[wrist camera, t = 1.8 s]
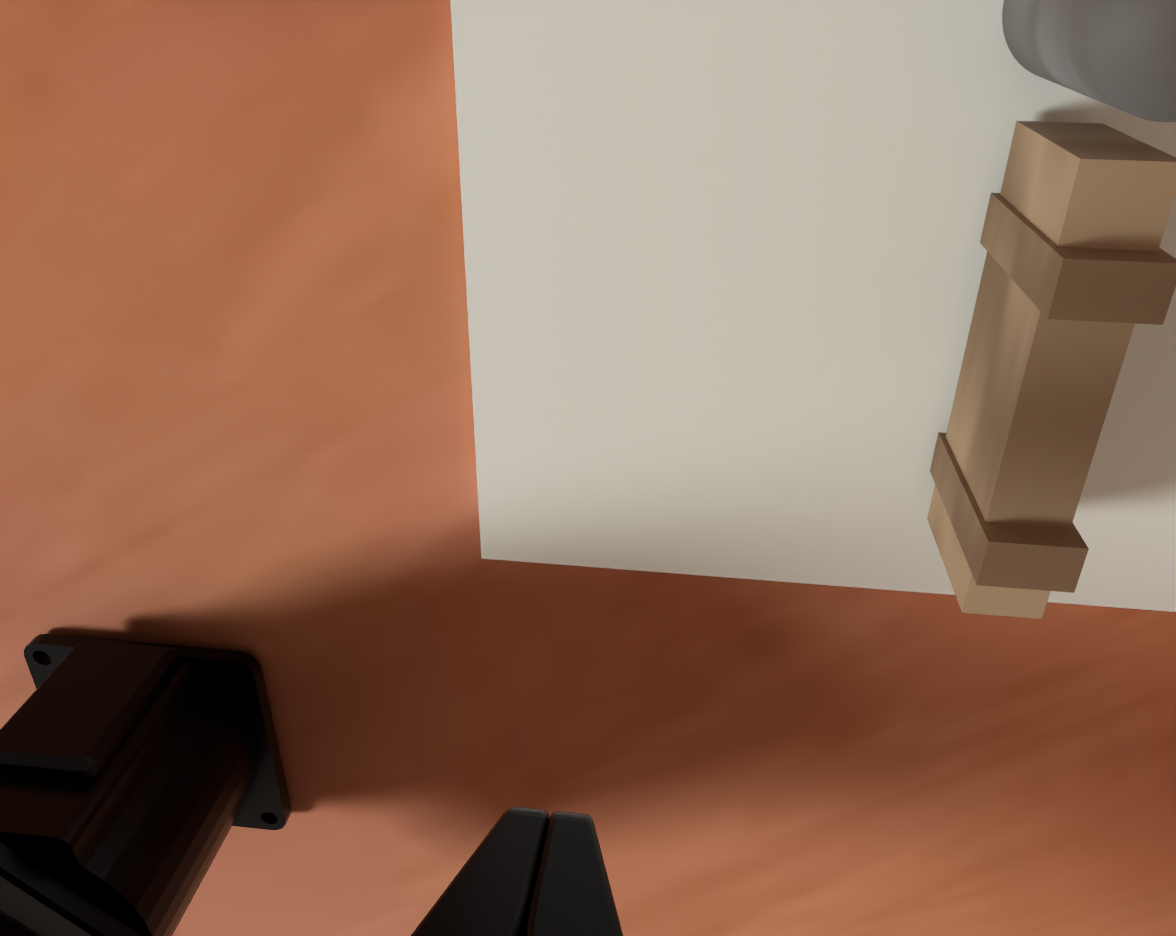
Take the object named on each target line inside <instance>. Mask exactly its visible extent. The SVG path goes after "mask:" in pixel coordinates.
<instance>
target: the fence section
mask: <svg viewBox="0 0 1176 936" xmlns="http://www.w3.org/2000/svg"><path fill="white" fill-rule="evenodd" d="M1002 25H1003V33H1004V37H1005V40H1006V43H1007V45H1008V48H1009V50H1010V52H1011V53H1012V55H1013V57H1014V58H1015V59H1016V60H1017V61H1018V63H1019V64H1020V65H1021V66H1023V67H1024V68H1025V69H1026V70H1028V71H1029V72H1031V73H1033V74H1034V75H1037V76H1039V77H1042V78H1044V79H1046V80H1049V81H1051V82H1054V83H1056V84H1059V85H1061V86H1063V87H1066V88H1068V89H1071V90H1073V91H1075V92H1078V93H1080V94H1083V95H1085V96H1087V97H1090V98H1092V99H1095V100H1097V101H1100V102H1102V103H1104V104H1107V105H1109V106H1112V107H1114V108H1116V109H1119V110H1121V111H1124V112H1126V113H1129V114H1131V115H1133V116H1136V117H1138V118H1141V119H1145V120H1149V121H1155V122H1176V0H1004V3H1003V10H1002Z"/></svg>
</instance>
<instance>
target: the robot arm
mask: <svg viewBox="0 0 1176 936" xmlns="http://www.w3.org/2000/svg"><path fill="white" fill-rule="evenodd" d="M24 656H25V659H26V662H27V664H28V667H29V670H30V672H31V675H32V678H33V681H34V683H35V686H36V689H37V690H36V691H35V692H34V693H33V694H32V695H31V696H30V697H29V698H28V700H27V701H26V702H25V703H24V704H23V705H22V706H21V707H20V708H19V709H18V711H17V712H16V713H15V714H14V715H13V716H12V717H11V718H10V719H9V721H8V722H7V723H6V724H5V725H4V726H3V727H2V728H1V729H0V936H172V935H173V933H174V931H175V929H176V927H177V925H178V924H179V922H180V920H181V918H182V916H183V914H184V913H185V911H186V909H187V907H188V905H189V903H190V902H191V900H192V898H193V896H194V894H195V892H196V891H197V889H198V887H199V885H200V883H201V881H202V880H203V878H204V876H205V874H206V872H207V870H208V869H209V867H210V865H211V863H212V861H213V859H214V858H215V856H216V854H217V852H218V850H219V848H220V847H221V845H222V843H223V841H224V839H225V837H226V836H227V834H228V832H229V830H230V828H231V826H240V827H249V828H259V829H268V830H279V829H281V828H283V827H284V826H285V824H286V822H287V820H288V818H289V816H290V814H291V807H290V802H289V797H288V792H287V788H286V783H285V778H284V773H283V769H282V764H281V759H280V755H279V750H278V745H277V740H276V736H275V731H274V726H273V721H272V717H271V712H270V707H269V702H268V698H267V693H266V688H265V684H264V679H263V674H262V669H261V666H260V664H259V662H258V661H257V660H256V659H255V657H253V656H252V655H250V654H248V653H245V652H241V651H232V650H221V649H210V648H198V647H187V646H176V645H165V644H153V643H142V642H131V641H120V640H108V639H97V638H86V637H75V636H63V635H52V634H40V635H38V636H36V637H35V638H34V639H33V640H32V641H31V642H30V643H29V644H28V645H27V646H26V647H25V650H24ZM237 669H239V670H241V671H242V672H240V671H239V670H237ZM243 672H244V673H243ZM411 936H623V934H622V930H621V926H620V922H619V918H618V914H617V911H616V907H615V903H614V899H613V895H612V891H611V888H610V884H609V880H608V876H607V872H606V868H605V864H604V861H603V857H602V853H601V849H600V845H599V841H598V837H597V834H596V830H595V826H594V822H593V820H592V818H591V817H590V816H589V815H587V814H580V813H571V812H561V811H557V812H554V813H552V815H551V816H550V817H549V814H548V813H547V812H546V811H544V810H541V809H532V808H522V807H511V808H509V809H508V810H506V811H505V812H504V814H503V815H502V816H501V817H500V819H499V820H498V821H497V823H496V824H495V825H494V827H493V828H492V829H491V830H490V832H489V833H488V834H487V836H486V837H485V838H484V840H483V841H482V842H481V844H480V845H479V846H478V848H477V849H476V850H475V852H474V853H473V854H472V856H471V857H470V858H469V860H468V861H467V862H466V863H465V865H464V866H463V867H462V869H461V870H460V871H459V873H458V874H457V875H456V877H455V878H454V879H453V881H452V882H451V883H450V885H449V886H448V887H447V889H446V890H445V891H444V893H443V894H442V895H441V896H440V898H439V899H438V900H437V902H436V903H435V904H434V906H433V907H432V908H431V910H430V911H429V912H428V914H427V915H426V916H425V918H424V919H423V920H422V922H421V923H420V924H419V926H418V927H417V928H416V929H415V931H414V932H413V933H412V935H411Z"/></svg>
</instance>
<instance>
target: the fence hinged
mask: <svg viewBox="0 0 1176 936" xmlns="http://www.w3.org/2000/svg"><path fill="white" fill-rule="evenodd" d="M1175 196H1176V157H1174V156H1171V155H1169V154H1167V153H1165V152H1163V151H1161V150H1159V149H1156V148H1154V147H1152V146H1150V145H1148V144H1146V143H1144V142H1141V141H1139V140H1137V139H1135V138H1133V137H1131V136H1129V135H1126V134H1124V133H1122V132H1120V131H1118V130H1116V129H1114V128H1111V127H1109V126H1107V125H1105V124H1103V123H1072V122H1038V121H1016V125H1015V129H1014V134H1013V138H1012V143H1011V147H1010V152H1009V156H1008V160H1007V165H1006V169H1005V174H1004V178H1003V183H1002V187H1001V192H1000V193H991V194H990V199H989V203H988V208H987V212H986V217H985V222H984V226H983V231H982V235H981V240H980V243H981V245H982V246H983V247H984V248H985V249H986V250H987V254H986V259H985V263H984V268H983V272H982V276H981V281H980V285H979V290H978V294H977V299H976V303H975V308H974V312H973V317H972V321H971V326H970V330H969V334H968V339H967V343H966V348H965V352H964V357H963V361H962V366H961V370H960V375H959V379H958V384H957V388H956V392H955V397H954V401H953V406H952V410H951V415H950V419H949V424H948V428H947V433H941V432H938V436H937V441H936V445H935V450H934V454H933V459H932V463H931V468H930V472H931V475H932V477H933V480H934V482H935V486H934V491H933V495H932V500H931V504H930V508H929V513H928V517H927V520H928V522H929V525H930V528H931V530H932V533H933V536H934V539H935V541H936V544H937V547H938V549H939V552H940V555H941V557H942V560H943V563H944V566H945V568H946V571H947V574H948V576H949V579H950V582H951V584H952V587H953V590H954V593H955V595H956V598H957V601H958V603H959V606H960V609H961V611H962V613H972V614H984V615H997V616H1010V617H1022V618H1035V619H1042V617H1043V614H1044V611H1045V608H1046V604H1047V601H1048V598H1049V595H1050V592H1051V591H1058V592H1071V593H1074V592H1075V589H1076V586H1077V583H1078V580H1079V577H1080V574H1081V571H1082V568H1083V565H1084V562H1085V559H1086V556H1087V553H1088V550H1089V548H1088V547H1087V545H1086V543H1085V542H1084V540H1083V539H1082V537H1081V535H1080V534H1079V532H1078V530H1077V529H1076V527H1075V526H1074V524H1073V519H1074V516H1075V513H1076V509H1077V506H1078V503H1079V500H1080V497H1081V494H1082V490H1083V487H1084V484H1085V481H1086V478H1087V475H1088V471H1089V468H1090V465H1091V462H1092V459H1093V455H1094V452H1095V449H1096V446H1097V443H1098V440H1099V436H1100V433H1101V430H1102V427H1103V424H1104V421H1105V417H1106V414H1107V411H1108V408H1109V405H1110V402H1111V398H1112V395H1113V392H1114V389H1115V386H1116V383H1117V379H1118V376H1119V373H1120V370H1121V367H1122V364H1123V360H1124V357H1125V354H1126V351H1127V348H1128V345H1129V341H1130V338H1131V335H1132V332H1133V329H1134V326H1135V323H1136V324H1156V325H1163V323H1164V320H1165V317H1166V314H1167V311H1168V308H1169V305H1170V302H1171V299H1172V296H1173V293H1174V290H1175V287H1176V259H1175V258H1174V257H1173V256H1171V255H1170V254H1168V253H1167V252H1165V251H1164V250H1162V249H1161V248H1159V246H1160V243H1161V240H1162V237H1163V234H1164V230H1165V227H1166V224H1167V221H1168V218H1169V215H1170V211H1171V208H1172V205H1173V202H1174V199H1175Z"/></svg>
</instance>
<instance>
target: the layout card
mask: <svg viewBox="0 0 1176 936" xmlns="http://www.w3.org/2000/svg"><path fill="white" fill-rule="evenodd" d="M450 1H451V19H452V37H453V55H454V73H455V91H456V109H457V127H458V145H459V163H460V181H461V199H462V217H463V235H464V253H465V271H466V289H467V307H468V325H469V343H470V361H471V379H472V397H473V416H474V434H475V452H476V470H477V488H478V506H479V524H480V542H481V559H494V560H507V561H520V562H533V563H546V564H559V565H572V566H585V567H598V568H611V569H624V570H637V571H650V572H663V573H676V574H689V575H702V576H715V577H728V578H741V579H754V580H767V581H780V582H793V583H806V584H819V585H832V586H845V587H858V588H871V589H884V590H897V591H910V592H923V593H936V594H949V595H955V593H954V590H953V587H952V584H951V582H950V579H949V576H948V574H947V571H946V568H945V566H944V563H943V560H942V557H941V555H940V552H939V549H938V547H937V544H936V541H935V539H934V536H933V533H932V530H931V528H930V525H929V522H928V520H927V517H928V513H929V508H930V504H931V500H932V495H933V491H934V486H935V482H934V480H933V477H932V475H931V472H930V468H931V463H932V459H933V454H934V450H935V445H936V441H937V436H938V432H941V433H947V428H948V424H949V419H950V415H951V410H952V406H953V401H954V397H955V392H956V388H957V384H958V379H959V375H960V370H961V366H962V361H963V357H964V352H965V348H966V343H967V339H968V334H969V330H970V326H971V321H972V317H973V312H974V308H975V303H976V299H977V294H978V290H979V285H980V281H981V276H982V272H983V268H984V263H985V259H986V254H987V250H986V249H985V248H984V247H983V246H982V245H981V243H980V240H981V235H982V231H983V226H984V222H985V217H986V212H987V208H988V203H989V199H990V194H991V193H1000V192H1001V187H1002V183H1003V178H1004V174H1005V169H1006V165H1007V160H1008V156H1009V152H1010V147H1011V143H1012V138H1013V134H1014V129H1015V125H1016V121H1038V122H1072V123H1103V124H1105V125H1107V126H1109V127H1111V128H1114V129H1116V130H1118V131H1120V132H1122V133H1124V134H1126V135H1129V136H1131V137H1133V138H1135V139H1137V140H1139V141H1141V142H1144V143H1146V144H1148V145H1150V146H1152V147H1154V148H1156V149H1159V150H1161V151H1163V152H1165V153H1167V154H1169V155H1171V156H1174V157H1176V122H1155V121H1149V120H1145V119H1141V118H1138V117H1136V116H1133V115H1131V114H1129V113H1126V112H1124V111H1121V110H1119V109H1116V108H1114V107H1112V106H1109V105H1107V104H1104V103H1102V102H1100V101H1097V100H1095V99H1092V98H1090V97H1087V96H1085V95H1083V94H1080V93H1078V92H1075V91H1073V90H1071V89H1068V88H1066V87H1063V86H1061V85H1059V84H1056V83H1054V82H1051V81H1049V80H1046V79H1044V78H1042V77H1039V76H1037V75H1034V74H1033V73H1031V72H1029V71H1028V70H1026V69H1025V68H1024V67H1023V66H1021V65H1020V64H1019V63H1018V61H1017V60H1016V59H1015V58H1014V57H1013V55H1012V53H1011V52H1010V50H1009V48H1008V45H1007V43H1006V40H1005V37H1004V33H1003V25H1002V10H1003V3H1004V0H450ZM1159 248H1161V249H1162V250H1164V251H1165V252H1167V253H1168V254H1170V255H1171V256H1173V257H1174V258H1175V259H1176V196H1175V199H1174V202H1173V205H1172V208H1171V211H1170V215H1169V218H1168V221H1167V224H1166V227H1165V230H1164V234H1163V237H1162V240H1161V243H1160V246H1159ZM1073 524H1074V526H1075V527H1076V529H1077V530H1078V532H1079V534H1080V535H1081V537H1082V539H1083V540H1084V542H1085V543H1086V545H1087V547H1088V548H1089V550H1088V553H1087V556H1086V559H1085V562H1084V565H1083V568H1082V571H1081V574H1080V577H1079V580H1078V583H1077V586H1076V589H1075V592H1074V593H1071V592H1058V591H1051V592H1050V595H1049V598H1048V601H1047V602H1053V603H1066V604H1079V605H1092V606H1105V607H1118V608H1131V609H1144V610H1157V611H1170V612H1176V287H1175V290H1174V293H1173V296H1172V299H1171V302H1170V305H1169V308H1168V311H1167V314H1166V317H1165V320H1164V323H1163V325H1156V324H1136V323H1135V326H1134V329H1133V332H1132V335H1131V338H1130V341H1129V345H1128V348H1127V351H1126V354H1125V357H1124V360H1123V364H1122V367H1121V370H1120V373H1119V376H1118V379H1117V383H1116V386H1115V389H1114V392H1113V395H1112V398H1111V402H1110V405H1109V408H1108V411H1107V414H1106V417H1105V421H1104V424H1103V427H1102V430H1101V433H1100V436H1099V440H1098V443H1097V446H1096V449H1095V452H1094V455H1093V459H1092V462H1091V465H1090V468H1089V471H1088V475H1087V478H1086V481H1085V484H1084V487H1083V490H1082V494H1081V497H1080V500H1079V503H1078V506H1077V509H1076V513H1075V516H1074V519H1073Z"/></svg>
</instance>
